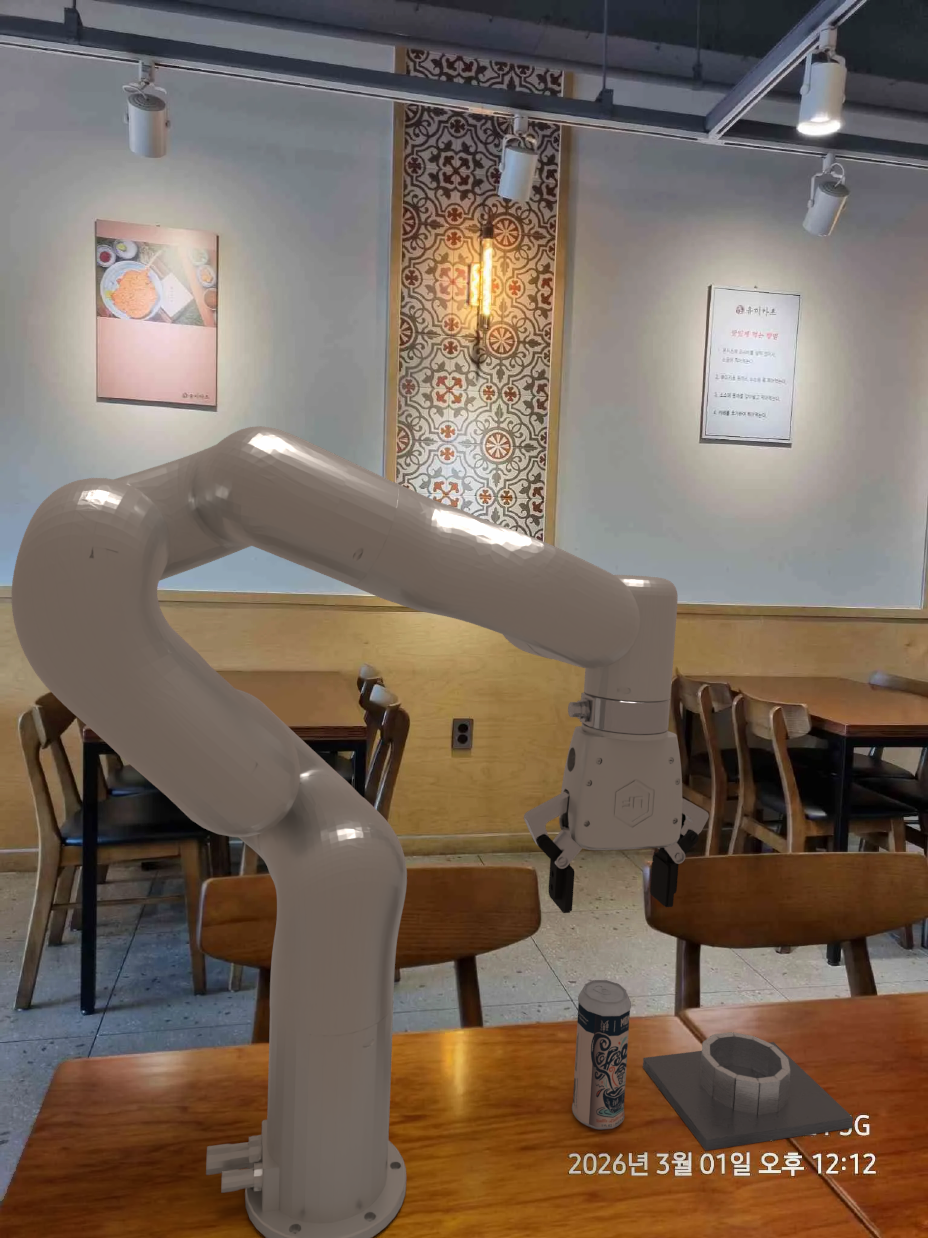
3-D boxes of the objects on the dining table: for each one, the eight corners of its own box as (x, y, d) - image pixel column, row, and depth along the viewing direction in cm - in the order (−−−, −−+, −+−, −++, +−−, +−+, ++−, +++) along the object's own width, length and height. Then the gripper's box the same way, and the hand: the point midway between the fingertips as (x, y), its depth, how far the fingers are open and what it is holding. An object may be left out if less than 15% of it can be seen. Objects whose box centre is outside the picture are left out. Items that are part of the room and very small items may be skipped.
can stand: (705, 1151, 73) (708, 1107, 73) (642, 1067, 84) (645, 1029, 84) (852, 1128, 77) (855, 1086, 76) (772, 1051, 88) (775, 1014, 88)
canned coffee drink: (601, 1142, 73) (609, 1011, 72) (560, 1113, 77) (567, 988, 76) (635, 1119, 77) (642, 993, 76) (594, 1092, 80) (601, 972, 79)
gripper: (547, 724, 68) (534, 928, 69) (736, 724, 72) (720, 917, 74) (518, 706, 75) (507, 891, 77) (692, 708, 80) (678, 883, 81)
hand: (612, 904), depth 75 cm, fingers open, 9 cm apart
